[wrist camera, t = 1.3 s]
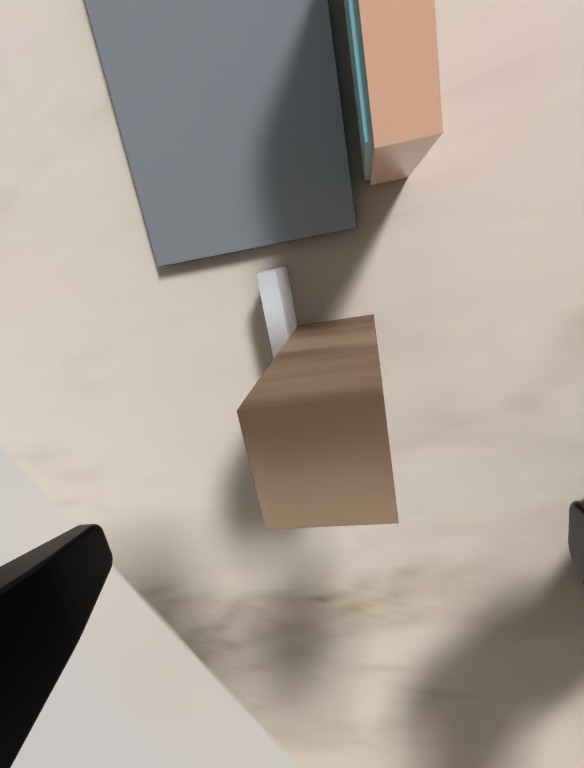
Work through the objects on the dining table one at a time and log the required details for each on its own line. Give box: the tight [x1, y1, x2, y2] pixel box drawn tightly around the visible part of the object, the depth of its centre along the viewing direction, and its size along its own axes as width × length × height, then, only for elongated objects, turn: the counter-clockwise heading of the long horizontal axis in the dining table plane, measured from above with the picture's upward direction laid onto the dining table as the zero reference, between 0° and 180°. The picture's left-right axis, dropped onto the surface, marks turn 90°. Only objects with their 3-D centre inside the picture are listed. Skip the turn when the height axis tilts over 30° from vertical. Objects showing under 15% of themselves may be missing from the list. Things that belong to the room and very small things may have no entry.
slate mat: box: [85, 0, 357, 267], centre depth 16 cm, size 12×9×1 cm
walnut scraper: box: [237, 266, 399, 529], centre depth 15 cm, size 9×4×10 cm, turn 11°
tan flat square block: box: [344, 0, 443, 185], centre depth 12 cm, size 8×2×8 cm, turn 11°
